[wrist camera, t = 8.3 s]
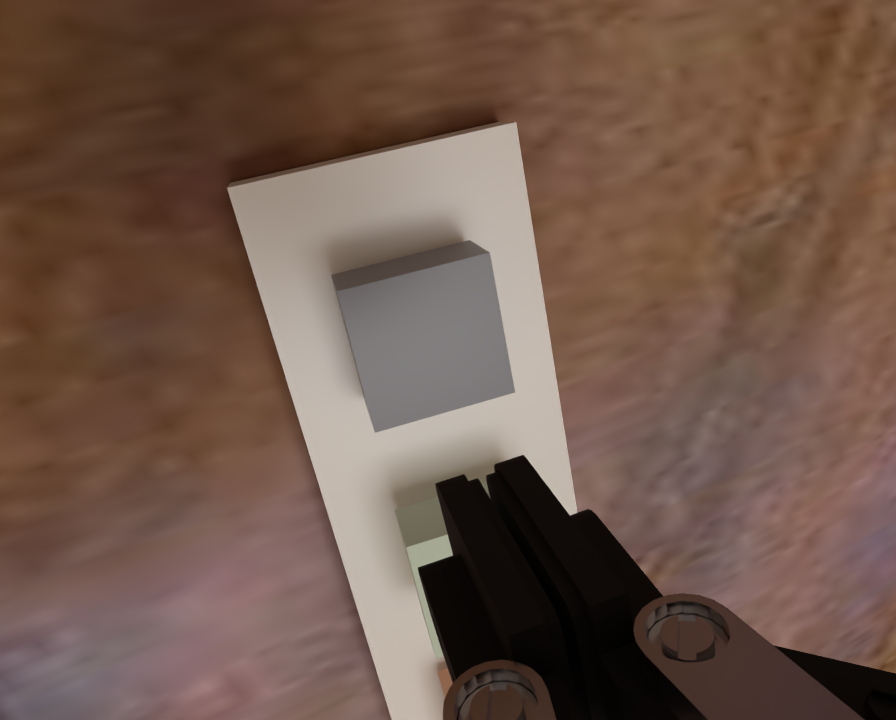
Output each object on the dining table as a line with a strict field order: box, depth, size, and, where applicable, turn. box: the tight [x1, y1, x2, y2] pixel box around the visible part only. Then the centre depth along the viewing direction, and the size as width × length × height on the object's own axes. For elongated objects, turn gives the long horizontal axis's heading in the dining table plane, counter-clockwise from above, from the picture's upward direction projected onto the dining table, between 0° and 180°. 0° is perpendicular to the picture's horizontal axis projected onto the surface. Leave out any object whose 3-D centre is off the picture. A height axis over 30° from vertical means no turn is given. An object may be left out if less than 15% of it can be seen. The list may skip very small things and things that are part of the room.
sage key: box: [395, 482, 490, 658], centre depth 27 cm, size 5×5×2 cm
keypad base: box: [227, 122, 577, 720], centre depth 30 cm, size 30×10×2 cm, turn 12°
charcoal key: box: [331, 240, 515, 433], centre depth 24 cm, size 5×5×2 cm
